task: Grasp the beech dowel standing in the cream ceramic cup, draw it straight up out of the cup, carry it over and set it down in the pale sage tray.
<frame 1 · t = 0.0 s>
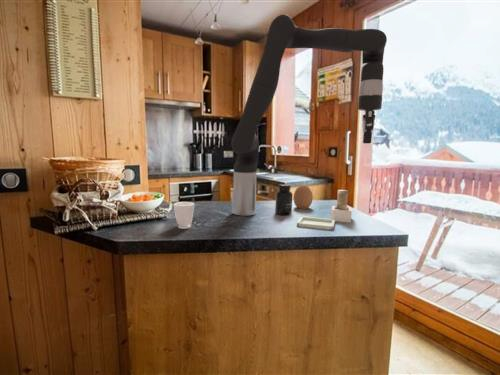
hand: (366, 143, 103), 29 cm above the countertop, fingers open, 8 cm apart
dowel: (341, 219, 111), point 1 cm above the countertop, touching holder cup
tray: (316, 226, 103), on the countertop
egg: (302, 210, 130), on the countertop
supplement bottle: (283, 214, 122), on the countertop
holder cup: (340, 221, 111), on the countertop
cup: (184, 226, 102), on the countertop
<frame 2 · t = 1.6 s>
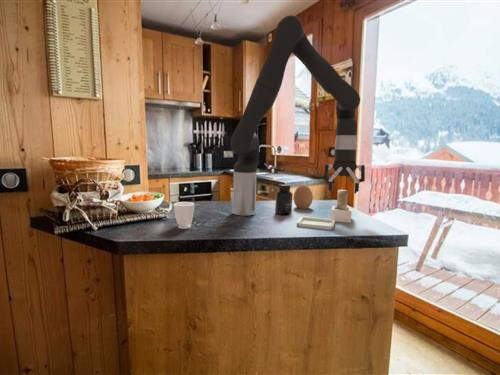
hand: (343, 192, 109), 11 cm above the countertop, fingers open, 8 cm apart
nothing on the countertop moved.
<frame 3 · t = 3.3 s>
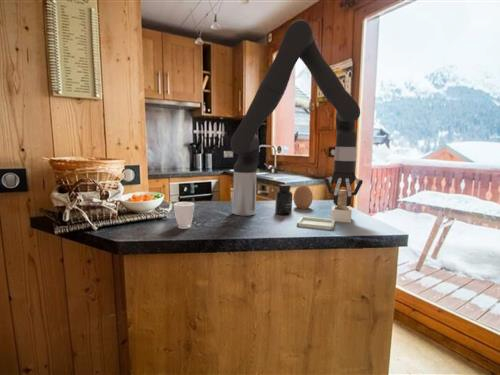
hand: (341, 205, 110), 6 cm above the countertop, fingers closed on dowel, 3 cm apart
dowel: (341, 219, 111), point 1 cm above the countertop, touching gripper, holder cup
everything else where it was.
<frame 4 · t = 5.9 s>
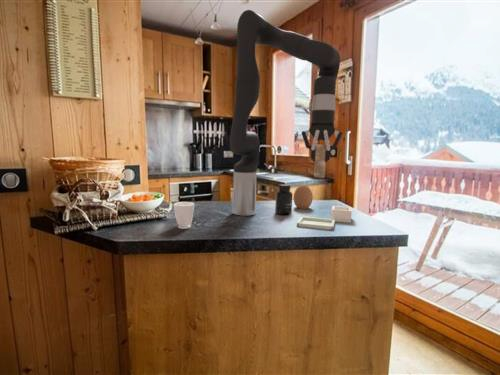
hand: (320, 161, 100), 23 cm above the countertop, fingers closed on dowel, 3 cm apart
dowel: (319, 177, 101), point 18 cm above the countertop, touching gripper
everything else where it was.
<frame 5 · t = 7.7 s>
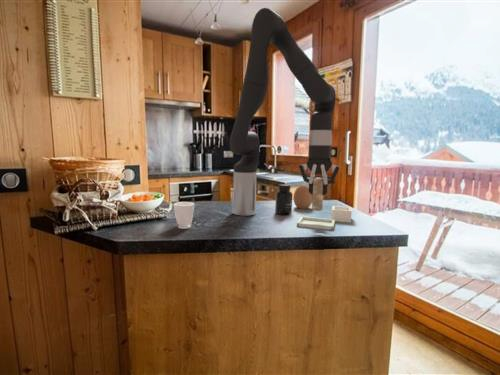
hand: (317, 194, 101), 12 cm above the countertop, fingers closed on dowel, 3 cm apart
dowel: (317, 209, 102), point 6 cm above the countertop, touching gripper
everything else where it was.
when the fingers open (9 cm above the countertop, at t = 9.0 s): dowel drops 2 cm, resting on tray.
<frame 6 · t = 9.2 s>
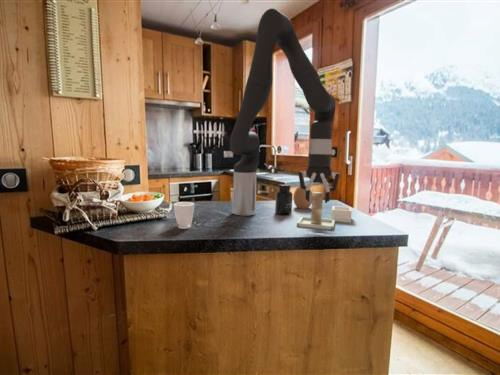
hand: (317, 201, 102), 9 cm above the countertop, fingers open, 5 cm apart
dowel: (316, 223, 103), point 1 cm above the countertop, touching tray
everything else where it was.
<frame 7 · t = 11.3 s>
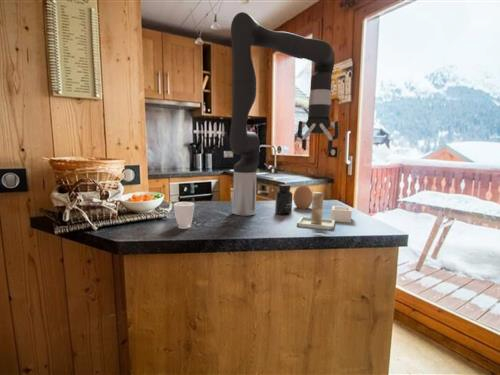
hand: (316, 150, 106), 26 cm above the countertop, fingers open, 8 cm apart
nothing on the countertop moved.
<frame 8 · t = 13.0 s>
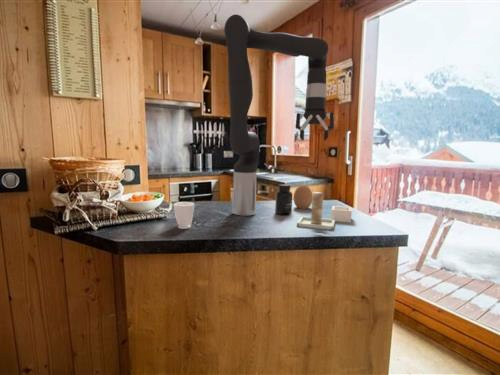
hand: (313, 140, 114), 30 cm above the countertop, fingers open, 8 cm apart
nothing on the countertop moved.
at the end: dowel inside the target area on the tray (0.1 cm from its centre), point 1.0 cm above the tray's base; dowel touching tray; the gripper is holding nothing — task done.
